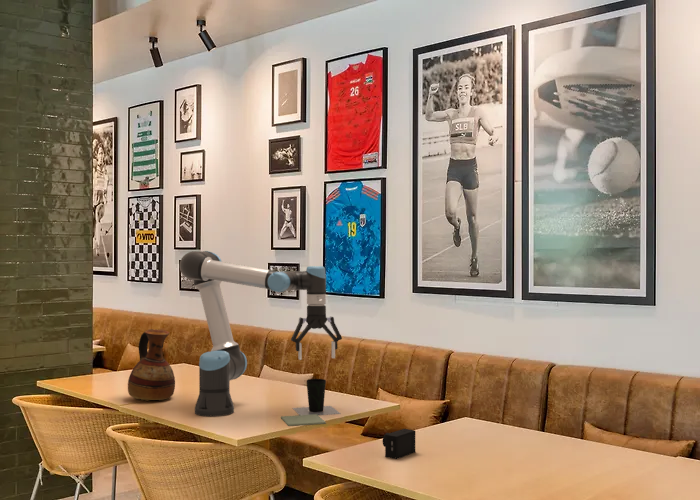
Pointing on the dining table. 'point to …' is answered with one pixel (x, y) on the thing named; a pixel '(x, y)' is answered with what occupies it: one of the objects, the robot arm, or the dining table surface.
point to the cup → (316, 394)
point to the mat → (302, 420)
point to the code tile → (326, 411)
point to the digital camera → (399, 443)
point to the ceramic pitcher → (152, 369)
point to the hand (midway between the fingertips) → (316, 358)
